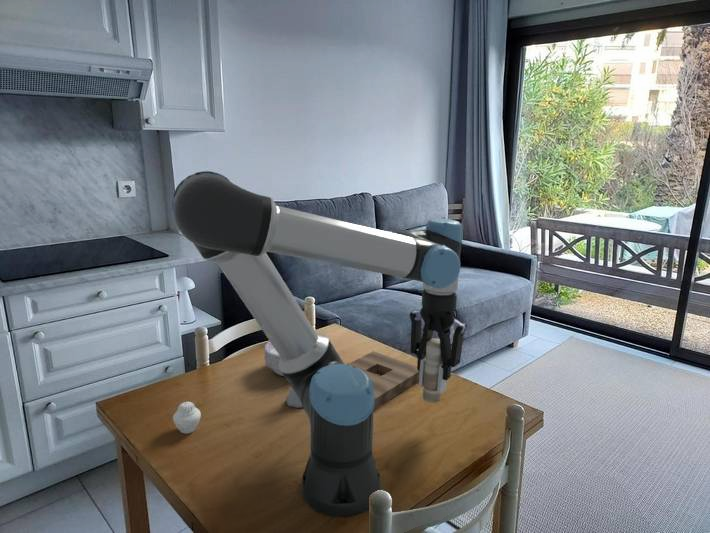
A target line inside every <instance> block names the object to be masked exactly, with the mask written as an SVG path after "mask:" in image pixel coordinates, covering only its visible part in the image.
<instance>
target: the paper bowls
mask: <svg viewBox="0 0 710 533" xmlns="http://www.w3.org/2000/svg"><path fill="white" fill-rule="evenodd" d="M263 350H264V352H263V353H264V354H263V355H264V364H265V365H266V366H267V367H268V368H269V369H271V370H273V372H274V373H276V374H277V375H279V376H282V377H285V376H284V375H283V373H282V372H281V370H280V369H279V360H280V355H279V354H278V352H277V351H276V349H275V348H274V346H273V345H272V344H271V342H270V341H268V342H267V343H266V344H265V345H264V348H263Z"/></svg>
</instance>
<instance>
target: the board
mask: <svg viewBox="0 0 710 533" xmlns="http://www.w3.org/2000/svg"><path fill="white" fill-rule="evenodd" d="M346 365H350V366H353V368H359V369H361V370H362V371H364V372H365V373H366V374H367V375H368V376H369V377H370V379H371V381H372V384H373V392H374V396H375V401H374V403H375V404H374V411H375V410H376V409H378V408H379V407H381V406H382V405H384V404H386V403H387V402H389V401H390V400H393V399H394V398H396V397H397V396H398V395H400V394H402V393H403V392H405V391H406V390H407V389H409V388H410V387H413V385H415V384H417V383H419V376H420V371H418V370H417V365H415V364H411V363H410V362H409V363H408V362H406V361H402V360H399V359H397V358H394V357H391V356H388V355H385V354H382V353H381V352H380V353H379V352H377V351H370V352H369V353H367V354H365V355H364V356H362V357H360V358H357V359H355V360H352V361H351V362H348V363H346Z"/></svg>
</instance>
